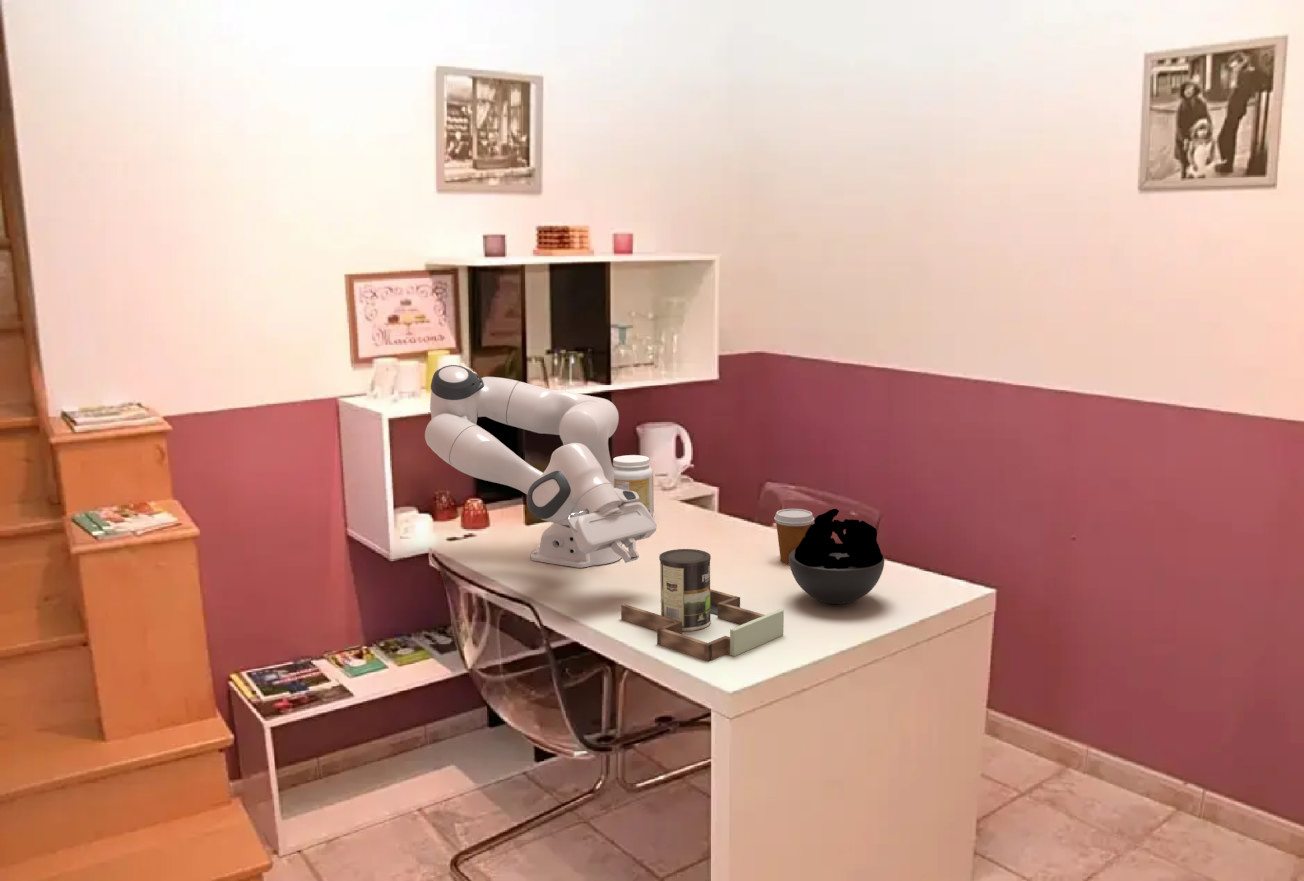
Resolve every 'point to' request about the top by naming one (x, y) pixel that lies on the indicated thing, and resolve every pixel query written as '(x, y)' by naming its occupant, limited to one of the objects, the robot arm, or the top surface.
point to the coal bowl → (837, 560)
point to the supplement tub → (635, 478)
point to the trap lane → (673, 638)
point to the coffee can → (686, 587)
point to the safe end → (756, 632)
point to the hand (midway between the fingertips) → (632, 560)
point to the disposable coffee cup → (791, 529)
